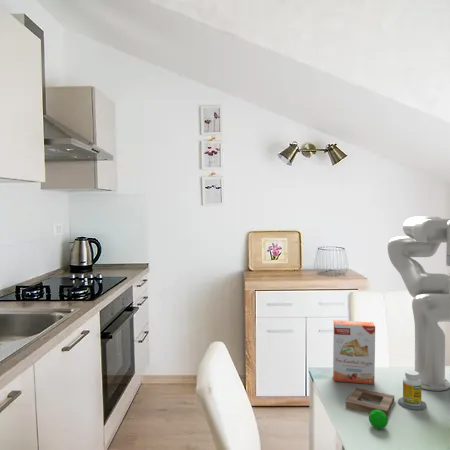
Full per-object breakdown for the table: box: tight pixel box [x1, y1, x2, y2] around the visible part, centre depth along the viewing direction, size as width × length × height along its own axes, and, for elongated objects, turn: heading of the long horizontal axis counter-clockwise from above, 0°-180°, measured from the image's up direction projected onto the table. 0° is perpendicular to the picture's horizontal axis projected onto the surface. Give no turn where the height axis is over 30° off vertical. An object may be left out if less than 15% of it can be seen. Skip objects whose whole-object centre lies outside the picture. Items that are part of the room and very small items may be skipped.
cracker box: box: [332, 319, 376, 385], centre depth 148 cm, size 14×6×21 cm, turn 77°
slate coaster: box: [397, 396, 427, 411], centre depth 130 cm, size 8×8×1 cm
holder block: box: [345, 387, 395, 418], centre depth 130 cm, size 12×12×2 cm
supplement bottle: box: [402, 369, 423, 406], centre depth 129 cm, size 5×5×10 cm
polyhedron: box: [368, 409, 389, 430], centre depth 116 cm, size 5×5×5 cm
